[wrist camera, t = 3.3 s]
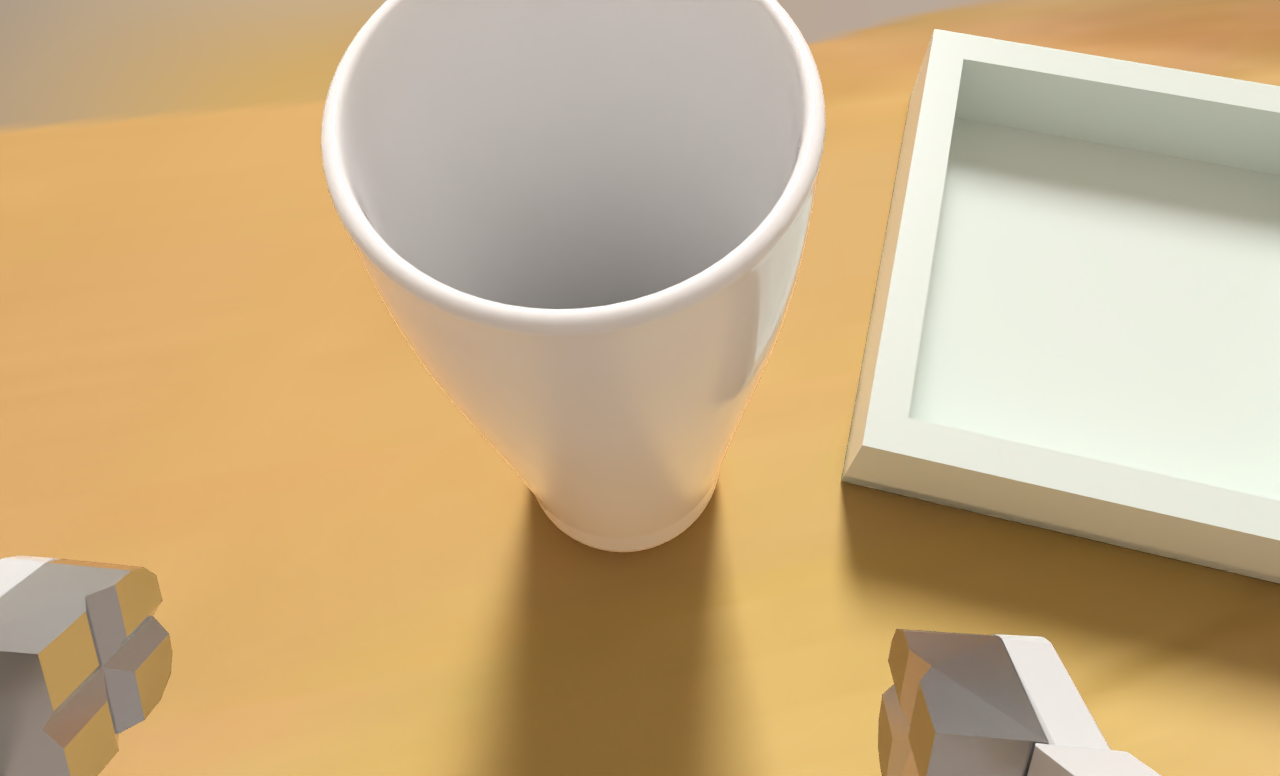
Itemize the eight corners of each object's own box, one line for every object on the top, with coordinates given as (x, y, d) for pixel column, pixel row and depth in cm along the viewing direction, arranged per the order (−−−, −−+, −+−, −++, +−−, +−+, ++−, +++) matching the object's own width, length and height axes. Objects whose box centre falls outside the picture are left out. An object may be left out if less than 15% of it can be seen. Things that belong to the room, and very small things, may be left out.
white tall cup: (494, 377, 26) (303, -46, 13) (717, 339, 27) (767, -117, 13) (521, 604, 24) (315, 380, 10) (768, 560, 24) (900, 280, 10)
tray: (840, 481, 25) (862, 445, 22) (910, 96, 30) (934, 28, 27) (1376, 606, 23) (1473, 584, 20) (1351, 174, 28) (1424, 110, 26)
